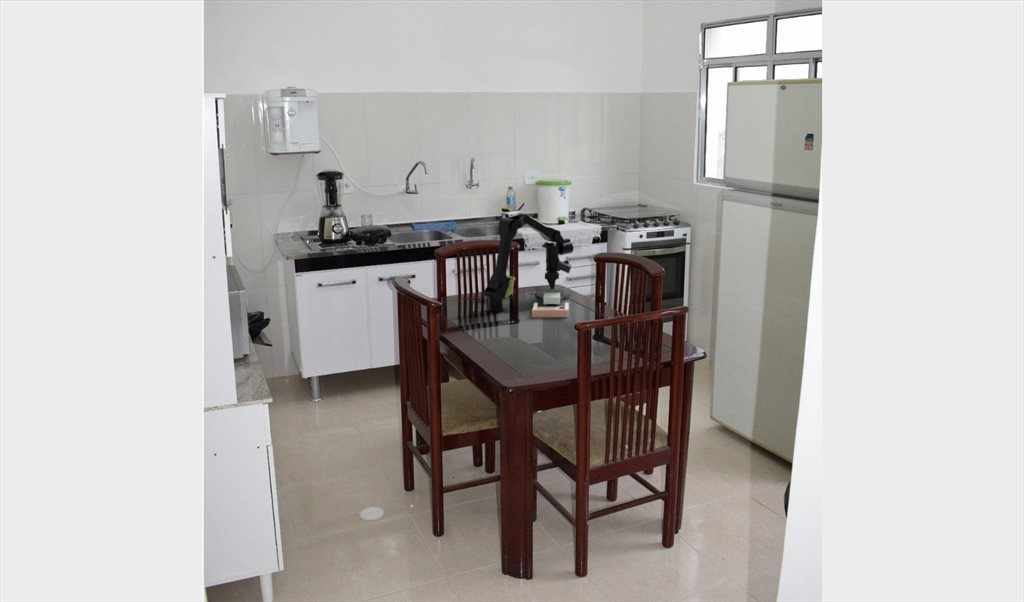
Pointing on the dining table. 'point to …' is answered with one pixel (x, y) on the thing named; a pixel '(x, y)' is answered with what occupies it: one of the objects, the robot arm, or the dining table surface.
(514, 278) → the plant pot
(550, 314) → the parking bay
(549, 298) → the pale green box
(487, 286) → the robot arm
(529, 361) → the dining table surface
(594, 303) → the dining table surface
